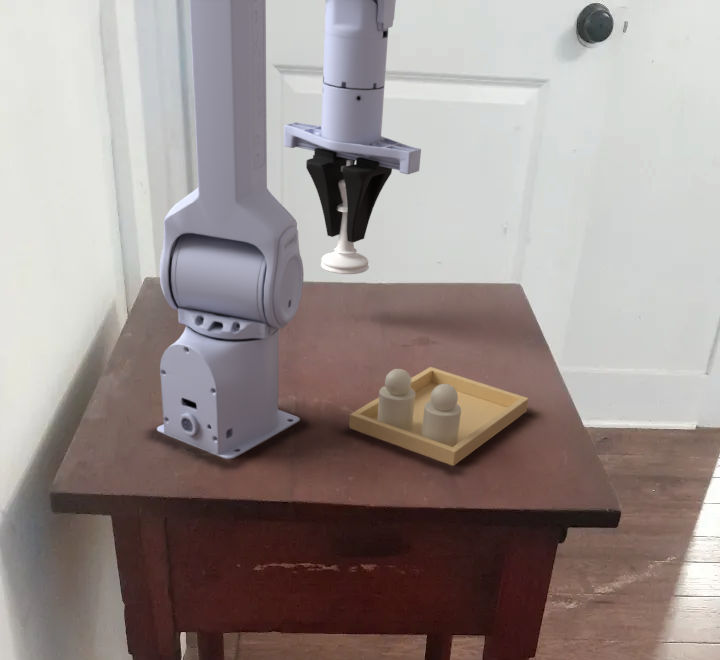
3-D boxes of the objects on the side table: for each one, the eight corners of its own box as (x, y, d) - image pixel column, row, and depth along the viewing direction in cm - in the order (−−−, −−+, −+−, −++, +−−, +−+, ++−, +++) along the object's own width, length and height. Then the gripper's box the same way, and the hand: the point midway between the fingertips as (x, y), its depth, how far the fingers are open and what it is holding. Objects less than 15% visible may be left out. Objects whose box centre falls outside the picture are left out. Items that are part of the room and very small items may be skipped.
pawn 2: (445, 454, 80) (452, 396, 77) (414, 443, 82) (420, 385, 78) (463, 441, 82) (471, 384, 79) (432, 431, 84) (439, 374, 80)
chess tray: (452, 470, 79) (455, 451, 78) (348, 432, 83) (349, 414, 82) (525, 415, 88) (529, 398, 87) (428, 383, 92) (430, 366, 91)
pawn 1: (399, 438, 82) (405, 380, 79) (369, 427, 83) (374, 370, 80) (418, 426, 84) (424, 369, 81) (389, 415, 85) (393, 359, 82)
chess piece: (349, 277, 98) (354, 169, 92) (310, 266, 100) (313, 159, 94) (378, 267, 101) (385, 161, 95) (340, 255, 104) (345, 152, 97)
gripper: (443, 91, 90) (427, 244, 99) (315, 68, 96) (311, 214, 105) (402, 100, 86) (390, 260, 94) (270, 75, 92) (270, 227, 100)
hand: (345, 237), depth 99 cm, fingers closed on chess piece
